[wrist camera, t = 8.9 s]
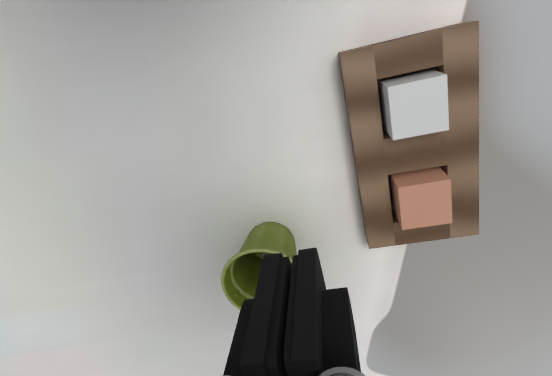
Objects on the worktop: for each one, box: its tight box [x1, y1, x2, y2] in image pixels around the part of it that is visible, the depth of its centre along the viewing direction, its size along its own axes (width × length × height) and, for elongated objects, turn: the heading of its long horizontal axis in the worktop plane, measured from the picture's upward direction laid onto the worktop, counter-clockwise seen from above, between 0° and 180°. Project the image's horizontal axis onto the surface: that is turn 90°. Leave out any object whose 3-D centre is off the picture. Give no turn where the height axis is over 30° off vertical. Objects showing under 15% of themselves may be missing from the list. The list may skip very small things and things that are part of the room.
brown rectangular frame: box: [338, 21, 479, 249], centre depth 36 cm, size 22×12×3 cm, turn 13°
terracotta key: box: [390, 166, 452, 230], centre depth 36 cm, size 5×5×4 cm
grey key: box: [380, 70, 449, 140], centre depth 33 cm, size 5×5×4 cm
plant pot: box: [221, 222, 297, 310], centre depth 41 cm, size 9×9×9 cm
